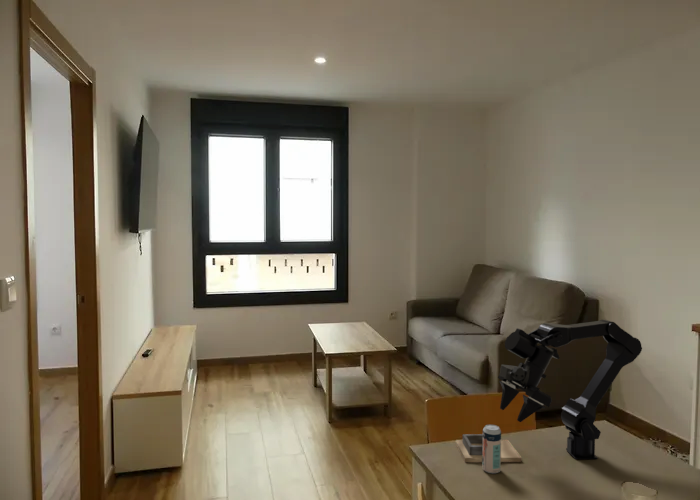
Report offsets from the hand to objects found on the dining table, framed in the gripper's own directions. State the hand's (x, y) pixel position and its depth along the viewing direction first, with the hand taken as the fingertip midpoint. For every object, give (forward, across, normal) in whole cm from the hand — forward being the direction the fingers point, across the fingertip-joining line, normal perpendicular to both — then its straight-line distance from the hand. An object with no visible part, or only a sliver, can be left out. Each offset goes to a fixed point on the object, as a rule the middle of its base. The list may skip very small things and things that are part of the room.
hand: (509, 415), depth 144 cm
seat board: (+13, -7, +4) cm, 16 cm away
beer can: (+16, +3, +1) cm, 16 cm away
